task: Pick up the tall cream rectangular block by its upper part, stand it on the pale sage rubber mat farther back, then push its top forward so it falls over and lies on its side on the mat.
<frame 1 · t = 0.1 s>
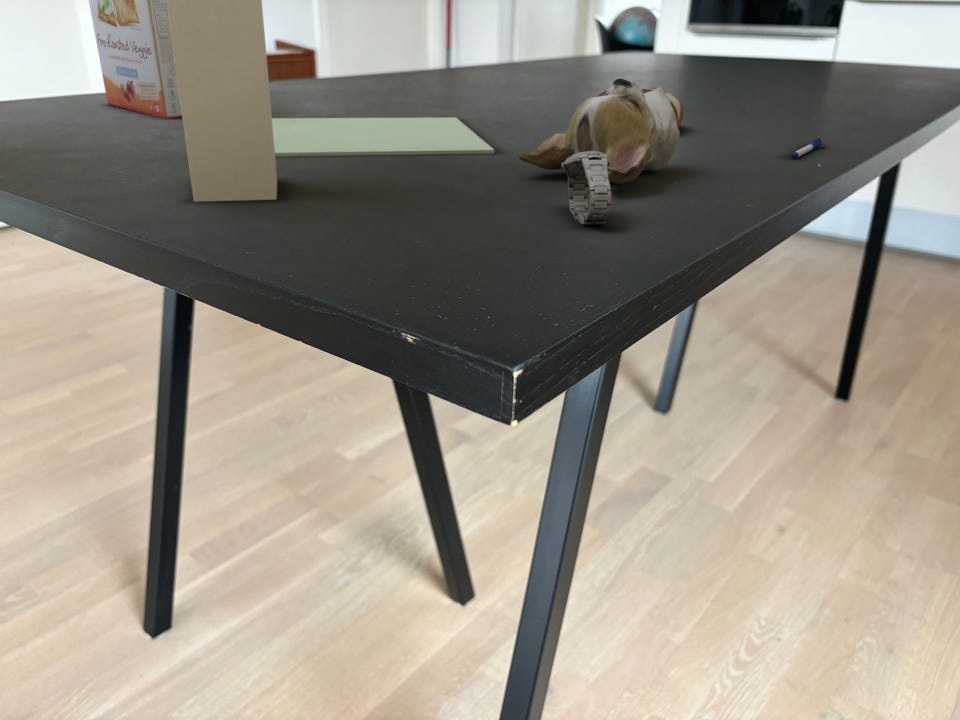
cracker box: (155, 112, 95), on the table
ceramic sculpture: (609, 180, 69), on the table
blue and white marker: (806, 154, 83), on the table
wristwatch: (584, 223, 56), on the table
cream rectangular block: (237, 192, 61), on the table
bread: (634, 130, 94), on the table
mat: (346, 137, 83), on the table
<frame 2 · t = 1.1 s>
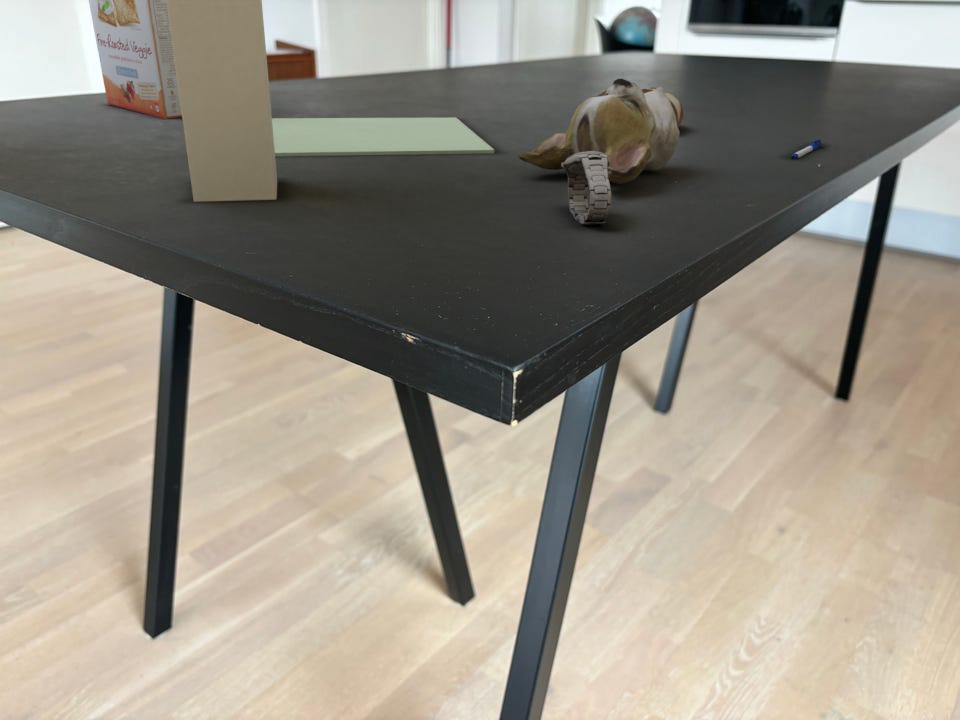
nothing on the table moved.
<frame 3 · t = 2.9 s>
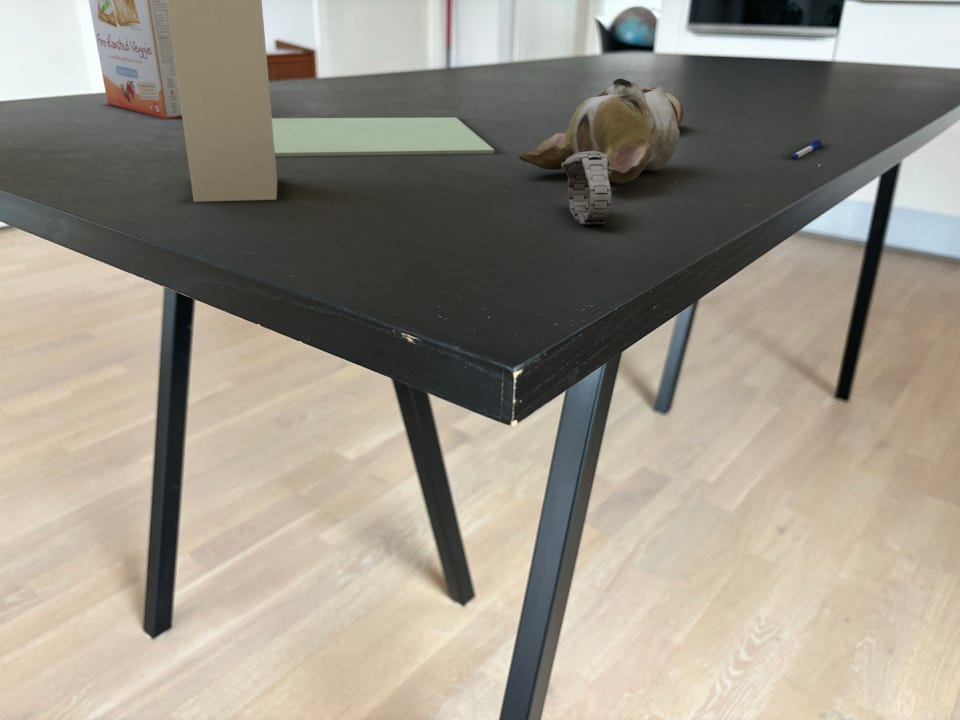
nothing on the table moved.
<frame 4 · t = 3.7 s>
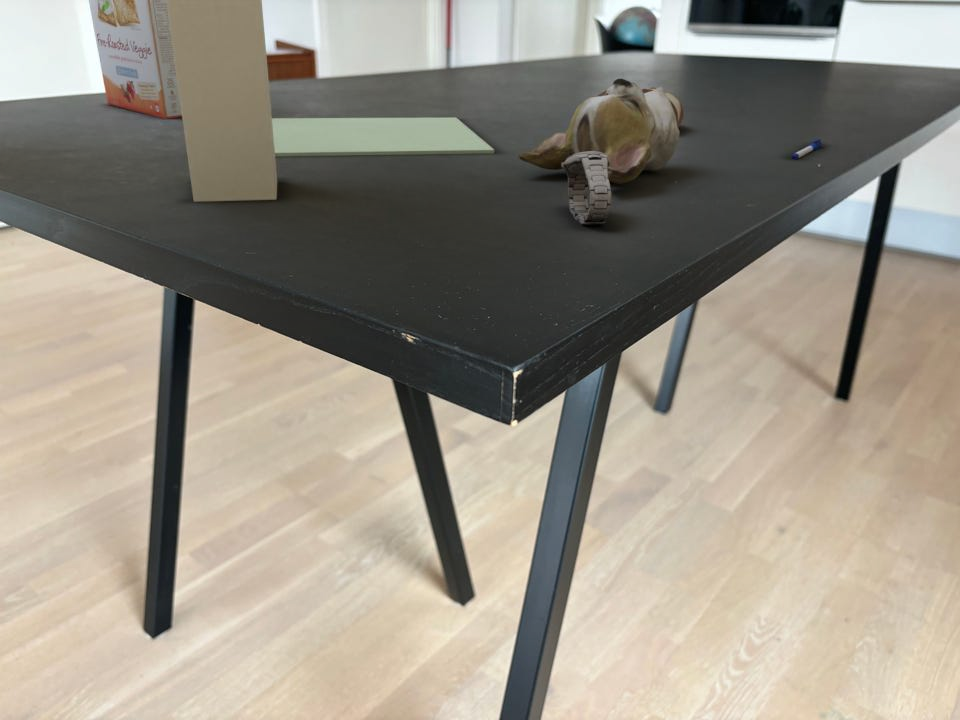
nothing on the table moved.
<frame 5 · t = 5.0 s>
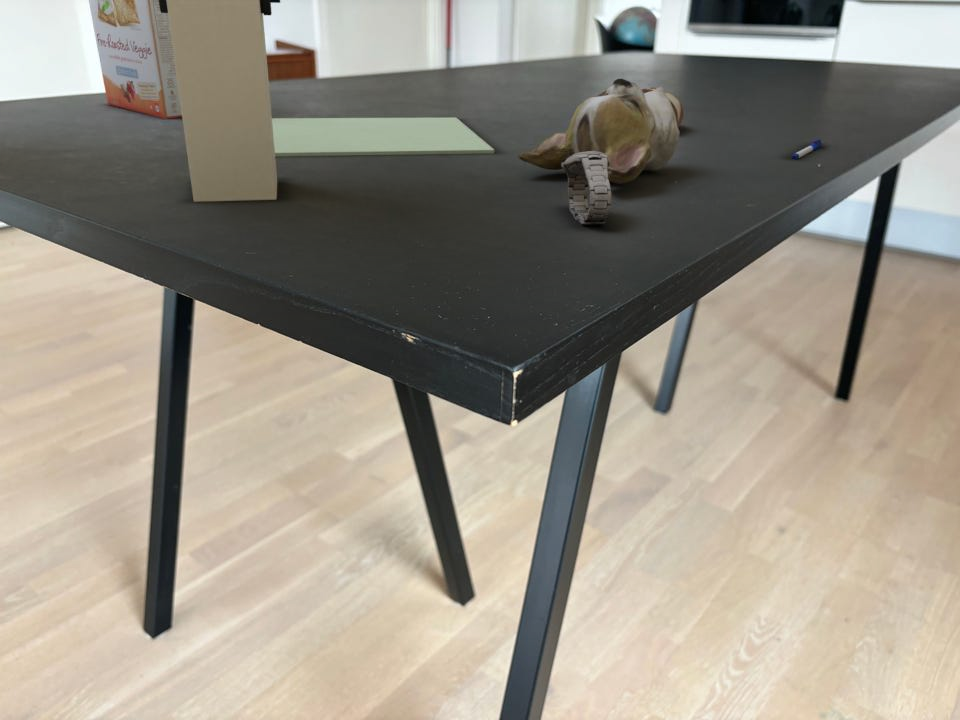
hand: (218, 10, 55), 13 cm above the table, tool pointing down, fingers closed on cream rectangular block, 6 cm apart
cream rectangular block: (237, 192, 61), on the table, touching gripper
everything else where it was.
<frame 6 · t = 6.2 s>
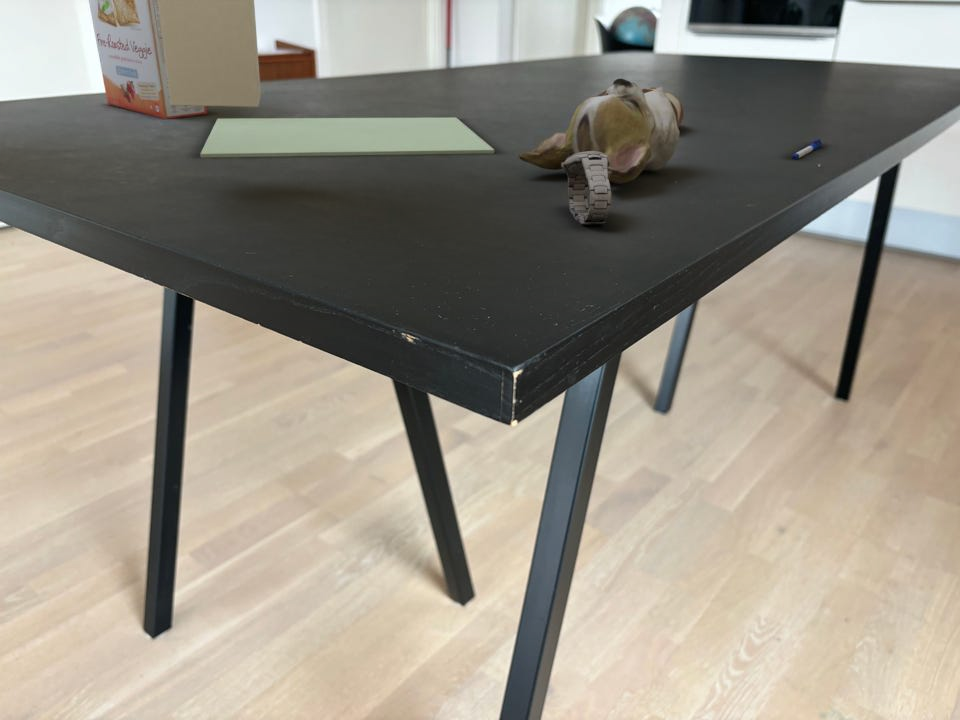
cream rectangular block: (218, 100, 58), point 7 cm above the table, touching gripper
everything else where it was.
when the fingers open (14 cm above the table, at t = 11.9 s): cream rectangular block stays where it is, resting on mat.
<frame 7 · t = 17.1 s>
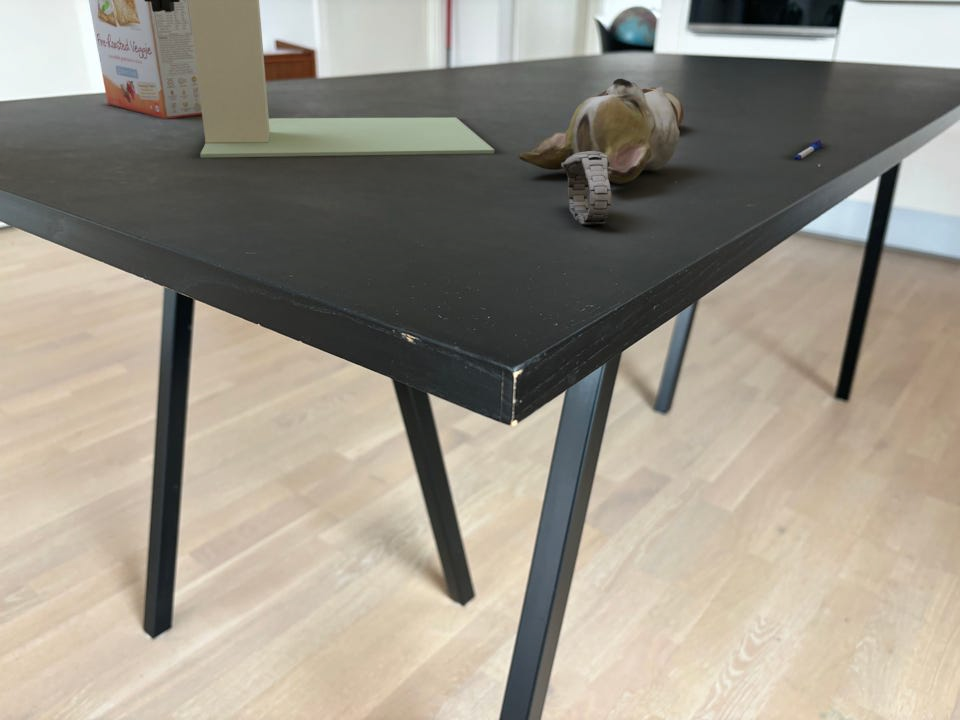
hand: (163, 10, 72), 12 cm above the table, tool pointing down, fingers closed
cream rectangular block: (239, 137, 79), point 1 cm above the table, touching gripper, mat
everything else where it was.
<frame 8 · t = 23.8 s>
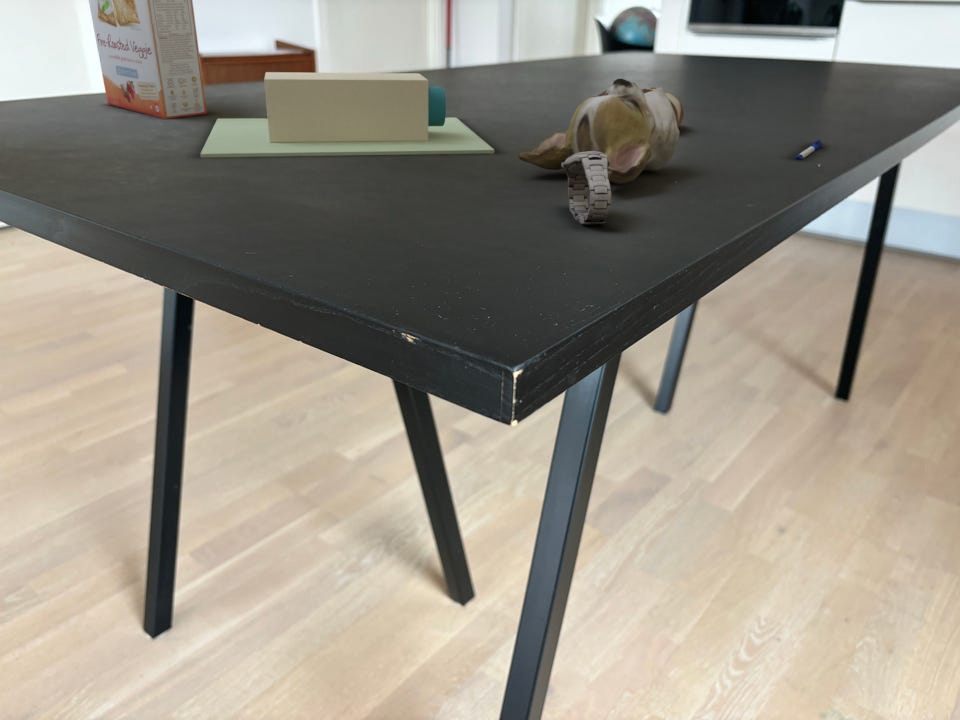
cream rectangular block: (267, 106, 78), point 3 cm above the table, tilted 90°, touching mat
everything else where it was.
at the end: cream rectangular block tilted 90°; cream rectangular block inside the target area on the mat (8.1 cm from its centre), point 3.5 cm above the mat's base; the gripper is holding nothing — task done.
